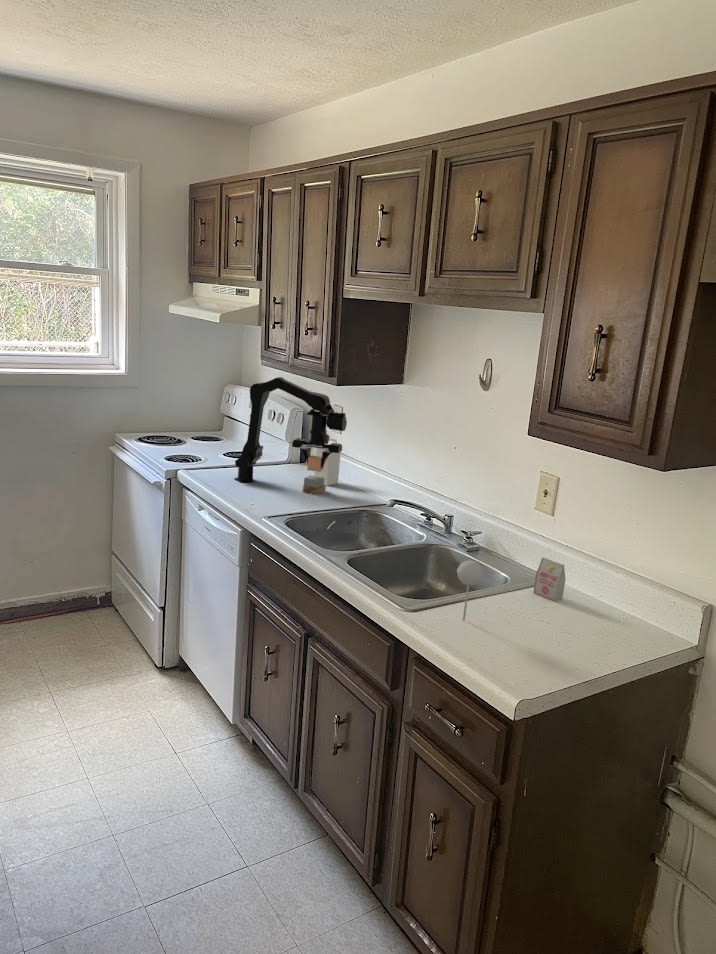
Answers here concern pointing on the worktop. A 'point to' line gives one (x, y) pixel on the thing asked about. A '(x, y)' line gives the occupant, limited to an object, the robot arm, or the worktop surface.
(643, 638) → the worktop surface
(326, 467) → the milk carton
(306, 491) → the tower bottom
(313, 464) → the terracotta cube
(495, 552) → the worktop surface
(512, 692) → the worktop surface
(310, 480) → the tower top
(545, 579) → the white printed box
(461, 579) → the lollipop
